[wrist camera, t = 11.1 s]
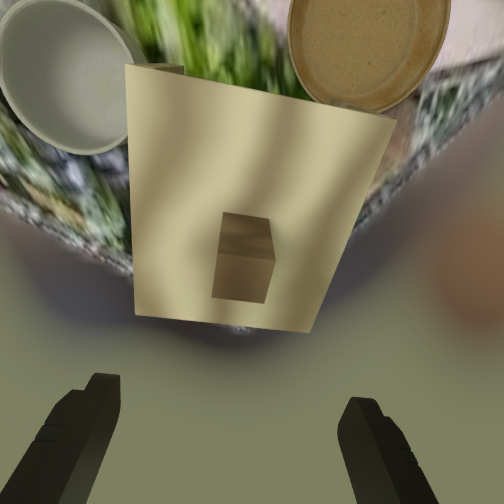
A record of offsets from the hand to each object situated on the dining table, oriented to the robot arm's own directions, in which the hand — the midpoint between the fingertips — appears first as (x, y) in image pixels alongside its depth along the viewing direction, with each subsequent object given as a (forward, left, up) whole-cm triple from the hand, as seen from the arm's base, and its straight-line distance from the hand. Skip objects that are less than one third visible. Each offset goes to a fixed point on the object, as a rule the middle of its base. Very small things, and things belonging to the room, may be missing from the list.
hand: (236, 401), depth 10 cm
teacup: (+14, -10, -28) cm, 33 cm away
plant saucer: (-9, -18, -28) cm, 34 cm away
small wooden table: (0, -2, -26) cm, 26 cm away
